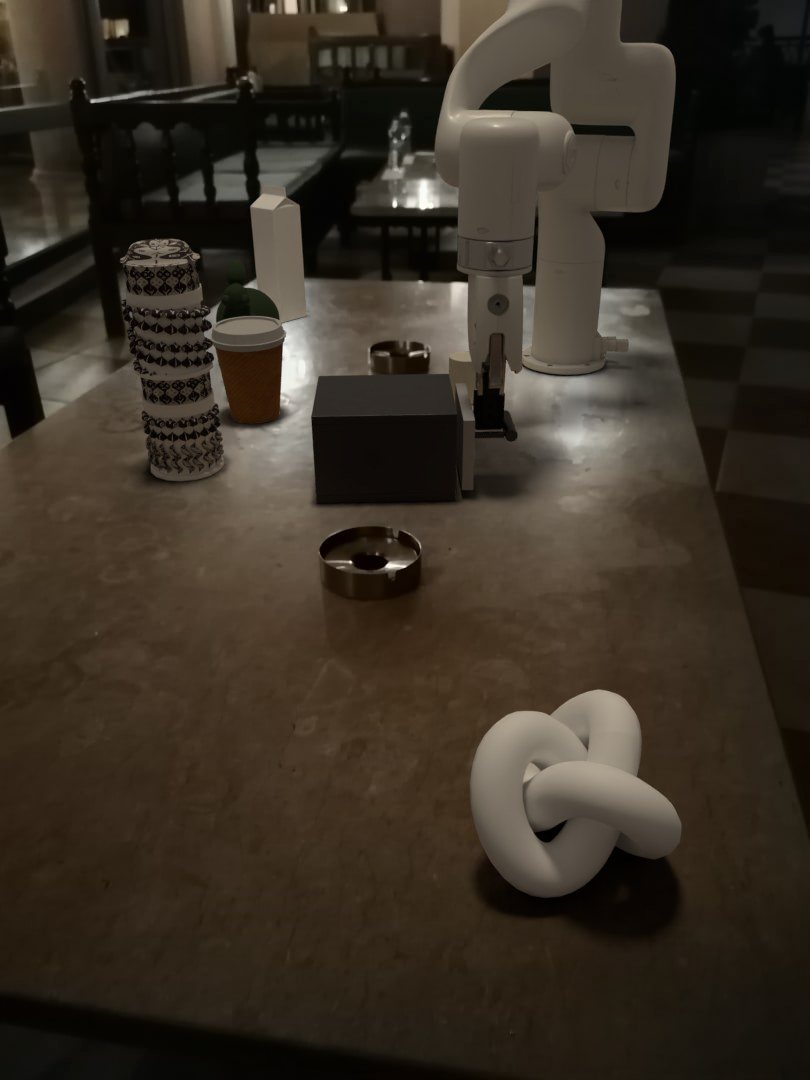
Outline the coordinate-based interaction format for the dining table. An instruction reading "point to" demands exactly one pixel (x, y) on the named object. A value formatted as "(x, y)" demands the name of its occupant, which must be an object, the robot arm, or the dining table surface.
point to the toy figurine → (243, 297)
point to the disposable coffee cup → (250, 365)
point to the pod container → (462, 372)
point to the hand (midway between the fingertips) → (487, 426)
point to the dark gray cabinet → (384, 438)
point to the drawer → (473, 435)
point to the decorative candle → (172, 359)
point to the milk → (279, 251)
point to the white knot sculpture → (566, 794)
